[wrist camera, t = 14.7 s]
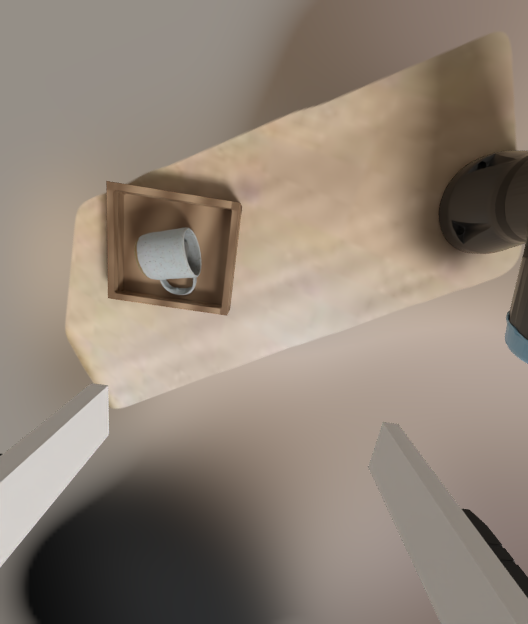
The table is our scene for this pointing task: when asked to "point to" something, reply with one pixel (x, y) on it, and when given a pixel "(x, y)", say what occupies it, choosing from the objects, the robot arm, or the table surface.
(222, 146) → the table surface
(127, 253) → the crate
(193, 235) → the ceramic mug
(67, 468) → the robot arm
